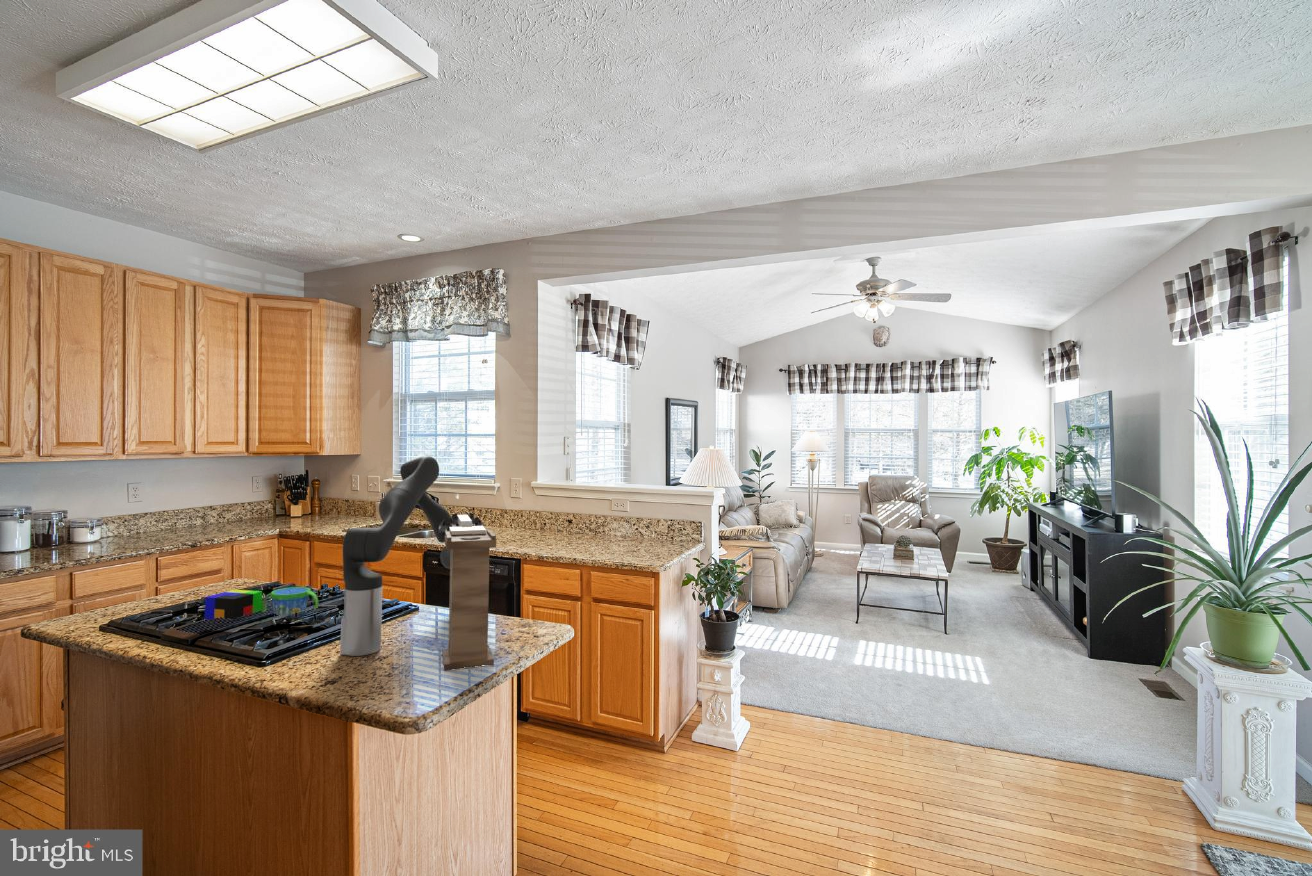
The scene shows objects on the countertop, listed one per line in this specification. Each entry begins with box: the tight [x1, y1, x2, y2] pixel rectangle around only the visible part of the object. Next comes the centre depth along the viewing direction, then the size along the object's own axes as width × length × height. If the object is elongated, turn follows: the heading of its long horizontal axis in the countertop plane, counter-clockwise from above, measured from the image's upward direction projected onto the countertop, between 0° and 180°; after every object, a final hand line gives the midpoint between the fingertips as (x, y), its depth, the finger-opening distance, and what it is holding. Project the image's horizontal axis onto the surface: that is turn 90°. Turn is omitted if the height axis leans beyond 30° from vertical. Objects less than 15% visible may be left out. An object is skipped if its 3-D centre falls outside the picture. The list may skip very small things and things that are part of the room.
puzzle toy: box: [204, 589, 263, 620], centre depth 181 cm, size 10×10×10 cm
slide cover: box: [449, 514, 487, 535], centre depth 172 cm, size 26×9×2 cm, turn 22°
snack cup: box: [261, 586, 319, 615], centre depth 186 cm, size 16×10×10 cm
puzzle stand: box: [441, 529, 497, 672], centre depth 156 cm, size 12×12×33 cm
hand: (463, 515), depth 179 cm, fingers open, 3 cm apart
